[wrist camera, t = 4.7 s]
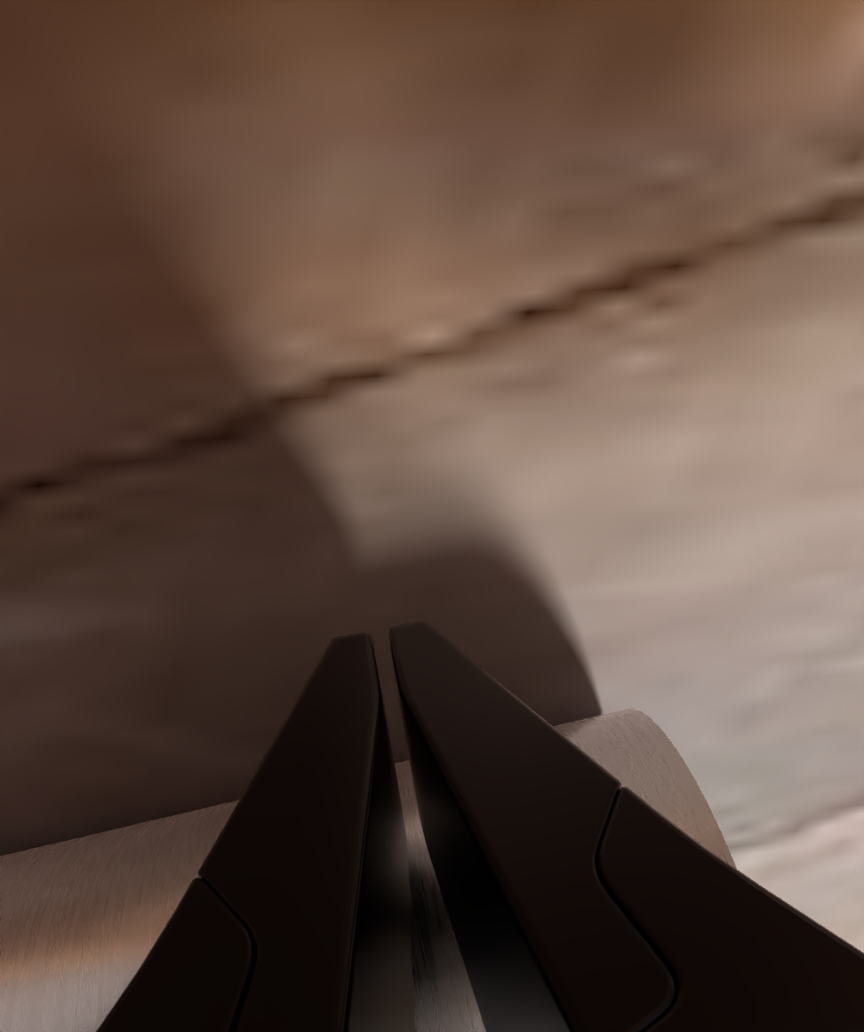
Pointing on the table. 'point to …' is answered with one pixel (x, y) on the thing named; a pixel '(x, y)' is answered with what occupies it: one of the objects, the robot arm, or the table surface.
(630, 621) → the table surface
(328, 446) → the table surface
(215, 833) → the air tube
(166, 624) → the table surface
